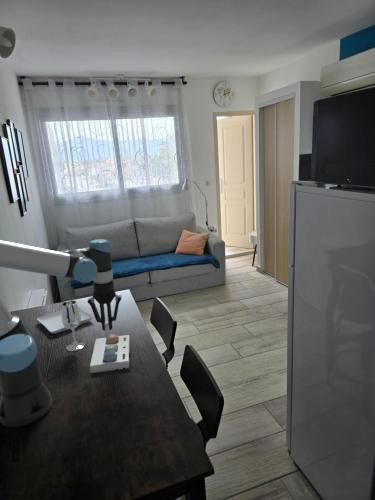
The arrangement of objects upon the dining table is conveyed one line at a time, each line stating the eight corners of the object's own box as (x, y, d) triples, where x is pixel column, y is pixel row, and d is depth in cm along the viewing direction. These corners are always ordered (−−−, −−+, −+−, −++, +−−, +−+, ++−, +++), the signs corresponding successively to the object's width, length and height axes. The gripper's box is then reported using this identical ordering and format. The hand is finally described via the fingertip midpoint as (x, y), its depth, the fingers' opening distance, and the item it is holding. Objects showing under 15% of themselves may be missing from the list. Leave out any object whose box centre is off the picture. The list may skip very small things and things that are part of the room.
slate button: (115, 362, 122) (115, 356, 121) (103, 364, 121) (103, 357, 121) (116, 356, 126) (115, 349, 125) (104, 357, 125) (104, 351, 125)
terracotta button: (117, 344, 135) (116, 338, 134) (106, 345, 134) (105, 339, 133) (118, 339, 139) (117, 333, 138) (107, 340, 138) (106, 334, 137)
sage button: (117, 355, 128) (116, 349, 128) (105, 357, 128) (104, 350, 127) (117, 349, 133) (116, 343, 132) (106, 351, 132) (105, 344, 131)
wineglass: (77, 352, 134) (70, 308, 129) (62, 350, 137) (54, 306, 132) (88, 343, 141) (82, 300, 136) (73, 340, 144) (67, 298, 139)
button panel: (129, 367, 122) (128, 360, 121) (90, 373, 120) (89, 365, 119) (129, 341, 141) (129, 334, 140) (96, 345, 139) (96, 338, 138)
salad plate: (36, 324, 163) (35, 317, 162) (77, 310, 176) (76, 304, 175) (52, 338, 147) (50, 331, 146) (95, 322, 161) (94, 316, 160)
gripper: (121, 276, 127) (125, 331, 133) (86, 278, 125) (92, 334, 131) (120, 282, 120) (124, 340, 125) (83, 285, 118) (90, 343, 124)
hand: (108, 337), depth 128 cm, fingers closed
